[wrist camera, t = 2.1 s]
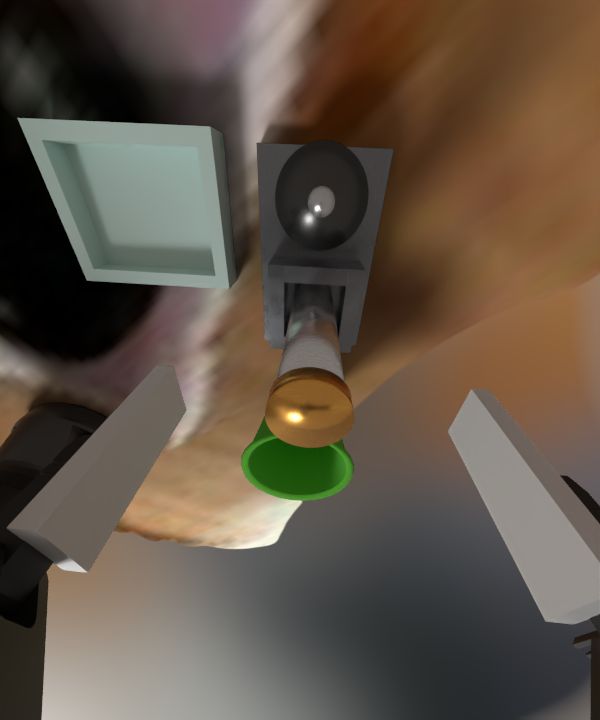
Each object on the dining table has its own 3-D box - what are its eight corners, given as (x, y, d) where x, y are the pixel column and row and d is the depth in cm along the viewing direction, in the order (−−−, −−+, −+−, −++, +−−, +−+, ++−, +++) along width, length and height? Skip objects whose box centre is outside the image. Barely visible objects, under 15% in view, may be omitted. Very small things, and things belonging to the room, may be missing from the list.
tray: (107, 272, 23) (87, 280, 21) (52, 126, 18) (17, 117, 16) (237, 280, 23) (229, 289, 21) (222, 133, 17) (210, 126, 15)
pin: (291, 317, 24) (266, 444, 12) (292, 276, 22) (263, 381, 10) (332, 320, 24) (347, 450, 12) (337, 279, 22) (361, 388, 10)
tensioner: (266, 335, 26) (256, 363, 22) (259, 144, 18) (241, 131, 14) (354, 340, 26) (361, 369, 22) (390, 150, 17) (412, 139, 13)
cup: (315, 336, 26) (314, 417, 17) (356, 394, 30) (373, 484, 21) (248, 373, 29) (216, 457, 20) (293, 421, 33) (284, 510, 24)
